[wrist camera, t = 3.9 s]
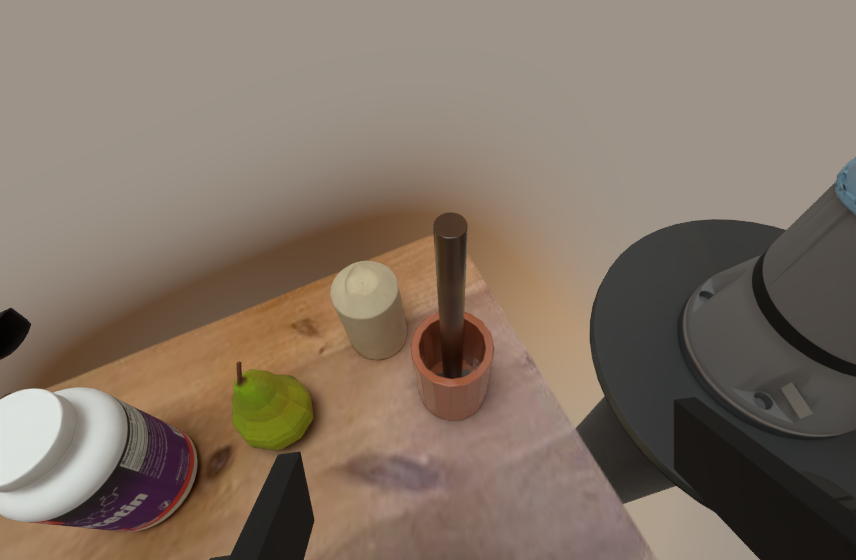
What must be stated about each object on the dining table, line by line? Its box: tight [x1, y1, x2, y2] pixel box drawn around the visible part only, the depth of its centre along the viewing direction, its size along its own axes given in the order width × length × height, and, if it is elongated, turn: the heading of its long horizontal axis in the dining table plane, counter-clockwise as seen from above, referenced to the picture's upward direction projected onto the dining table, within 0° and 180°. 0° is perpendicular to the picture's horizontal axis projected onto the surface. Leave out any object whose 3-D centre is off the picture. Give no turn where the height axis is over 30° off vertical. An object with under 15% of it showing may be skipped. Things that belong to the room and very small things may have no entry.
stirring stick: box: [433, 213, 470, 379], centre depth 30 cm, size 3×2×22 cm, turn 97°
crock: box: [411, 312, 494, 421], centre depth 36 cm, size 6×6×9 cm
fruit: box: [232, 362, 314, 450], centre depth 34 cm, size 6×6×12 cm
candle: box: [330, 261, 407, 360], centre depth 39 cm, size 6×6×10 cm
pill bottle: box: [0, 387, 197, 532], centre depth 31 cm, size 8×8×14 cm
